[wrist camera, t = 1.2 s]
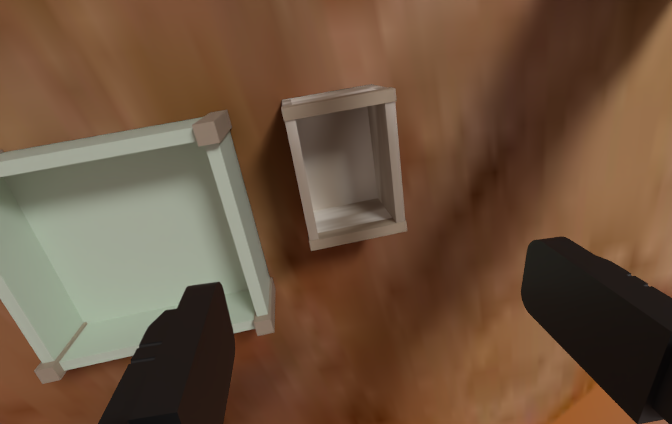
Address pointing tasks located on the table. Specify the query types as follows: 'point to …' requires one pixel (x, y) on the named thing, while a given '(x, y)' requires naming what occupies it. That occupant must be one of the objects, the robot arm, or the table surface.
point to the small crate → (347, 164)
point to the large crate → (125, 238)
